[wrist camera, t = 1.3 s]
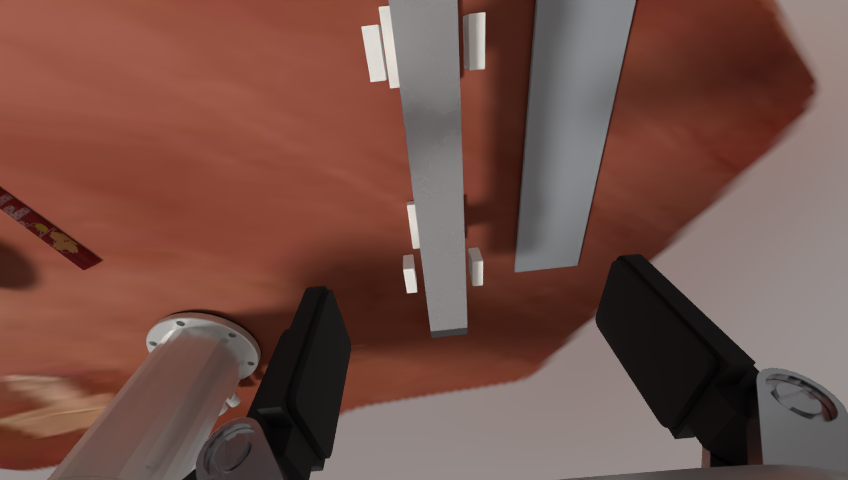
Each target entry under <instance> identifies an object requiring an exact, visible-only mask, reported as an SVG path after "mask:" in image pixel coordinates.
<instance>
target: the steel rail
mask: <svg viewBox="0 0 848 480" xmlns="http://www.w3.org/2000/svg"><path fill="white" fill-rule="evenodd" d="M389 7H390V15H391V23H392V31H393V39H394V46H395V54H396V62H397V70H398V78H399V86H400V94H401V102H402V109H403V117H404V125H405V133H406V141H407V149H408V157H409V164H410V172H411V180H412V188H413V196H414V204H415V212H416V220H417V227H418V235H419V243H420V251H421V259H422V267H423V275H424V282H425V290H426V298H427V306H428V314H429V322H430V330H431V338H435V337H445V336H454V335H463V334H468V331H467V299H466V266H465V233H464V200H463V167H462V134H461V101H460V68H459V36H458V3H457V0H389Z"/></svg>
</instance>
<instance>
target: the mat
mask: <svg viewBox="0 0 848 480" xmlns="http://www.w3.org/2000/svg"><path fill="white" fill-rule="evenodd" d="M635 2H636V0H536V4H535V17H534V29H533V42H532V54H531V67H530V79H529V92H528V104H527V117H526V129H525V142H524V155H523V167H522V180H521V192H520V205H519V217H518V230H517V242H516V255H515V267H514V271H515V272H523V271H532V270H541V269H551V268H560V267H569V266H577V265H578V261H579V256H580V252H581V247H582V243H583V238H584V234H585V229H586V225H587V220H588V215H589V211H590V206H591V202H592V197H593V193H594V188H595V184H596V179H597V175H598V170H599V166H600V161H601V157H602V152H603V147H604V143H605V138H606V134H607V129H608V125H609V120H610V116H611V111H612V107H613V102H614V98H615V93H616V88H617V84H618V79H619V75H620V70H621V66H622V61H623V57H624V52H625V48H626V43H627V39H628V34H629V30H630V25H631V20H632V16H633V11H634V7H635Z"/></svg>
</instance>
